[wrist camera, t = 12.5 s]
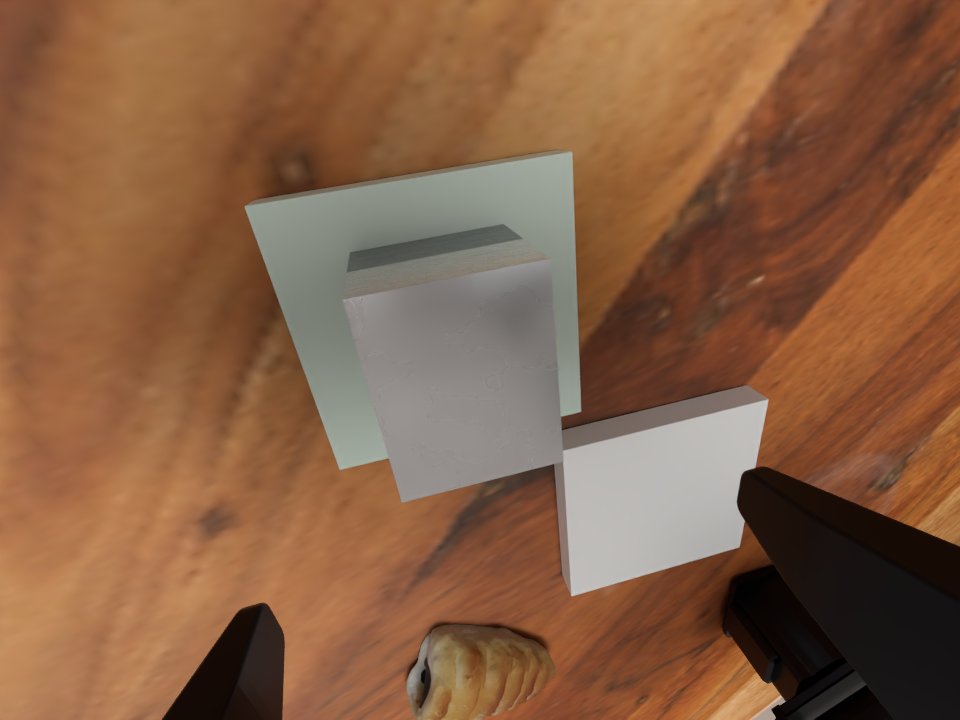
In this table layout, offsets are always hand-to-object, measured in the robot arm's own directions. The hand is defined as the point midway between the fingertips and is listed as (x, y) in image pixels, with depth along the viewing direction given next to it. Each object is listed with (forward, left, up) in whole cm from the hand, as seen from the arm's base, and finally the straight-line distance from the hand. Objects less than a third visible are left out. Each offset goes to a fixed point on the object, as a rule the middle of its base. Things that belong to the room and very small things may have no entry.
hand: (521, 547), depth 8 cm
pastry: (+2, +24, -13) cm, 27 cm away
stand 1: (0, 0, -12) cm, 12 cm away
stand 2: (-10, +13, -12) cm, 21 cm away
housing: (0, 0, -11) cm, 11 cm away
